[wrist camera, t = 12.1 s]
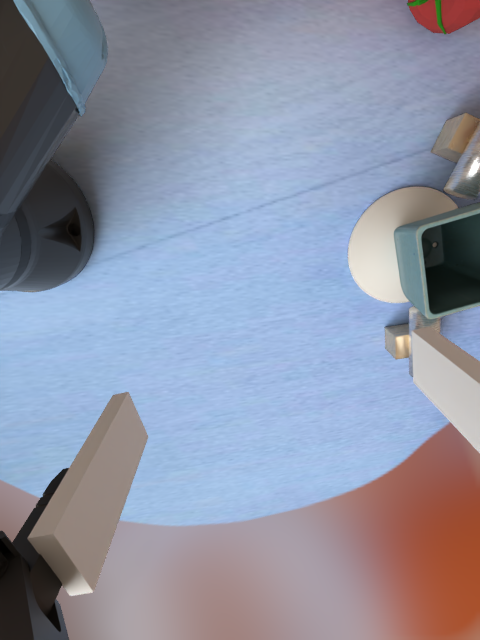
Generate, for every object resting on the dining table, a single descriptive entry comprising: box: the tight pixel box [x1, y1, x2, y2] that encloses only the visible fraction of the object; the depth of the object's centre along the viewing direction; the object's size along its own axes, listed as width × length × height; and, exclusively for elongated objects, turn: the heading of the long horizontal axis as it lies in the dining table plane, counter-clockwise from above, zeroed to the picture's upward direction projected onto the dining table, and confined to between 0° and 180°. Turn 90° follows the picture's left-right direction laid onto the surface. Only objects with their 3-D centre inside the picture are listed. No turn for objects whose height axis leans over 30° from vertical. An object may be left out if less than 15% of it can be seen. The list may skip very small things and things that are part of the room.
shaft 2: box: [431, 113, 480, 200], centre depth 30 cm, size 8×5×6 cm, turn 160°
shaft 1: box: [385, 306, 441, 377], centre depth 37 cm, size 8×5×6 cm, turn 10°
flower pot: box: [394, 203, 480, 319], centre depth 32 cm, size 9×9×9 cm
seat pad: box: [348, 187, 458, 303], centre depth 36 cm, size 13×13×1 cm
